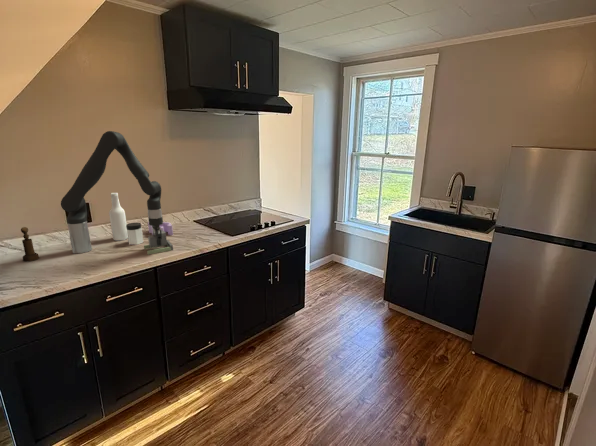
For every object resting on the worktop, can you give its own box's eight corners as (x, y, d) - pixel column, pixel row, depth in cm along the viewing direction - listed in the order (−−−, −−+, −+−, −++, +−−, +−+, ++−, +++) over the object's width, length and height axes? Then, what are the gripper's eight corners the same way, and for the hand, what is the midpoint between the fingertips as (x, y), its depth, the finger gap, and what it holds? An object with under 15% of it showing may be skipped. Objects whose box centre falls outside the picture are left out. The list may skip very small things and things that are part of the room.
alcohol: (118, 241, 198) (111, 194, 190) (110, 239, 202) (102, 193, 194) (131, 237, 206) (125, 192, 197) (122, 235, 209) (116, 191, 201)
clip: (144, 232, 217) (142, 223, 215) (161, 228, 227) (160, 219, 225) (159, 238, 205) (158, 228, 204) (176, 234, 215) (175, 224, 213)
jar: (137, 239, 203) (135, 221, 200) (146, 241, 200) (144, 223, 196) (125, 243, 195) (122, 225, 192) (134, 245, 192) (131, 226, 189)
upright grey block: (150, 247, 182) (149, 235, 179) (149, 245, 186) (147, 233, 183) (167, 245, 187) (165, 232, 184) (165, 242, 190) (163, 230, 188)
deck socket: (147, 254, 178) (147, 249, 178) (144, 248, 187) (143, 243, 187) (173, 250, 186) (172, 245, 185) (168, 244, 195) (168, 239, 194)
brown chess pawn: (37, 256, 174) (30, 224, 169) (40, 259, 170) (33, 227, 165) (22, 259, 169) (14, 227, 164) (24, 262, 165) (17, 230, 160)
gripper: (145, 214, 185) (149, 241, 190) (150, 220, 174) (154, 249, 178) (159, 212, 189) (162, 239, 194) (165, 218, 178) (167, 246, 182)
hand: (158, 244), depth 186 cm, fingers closed on upright grey block, 5 cm apart
